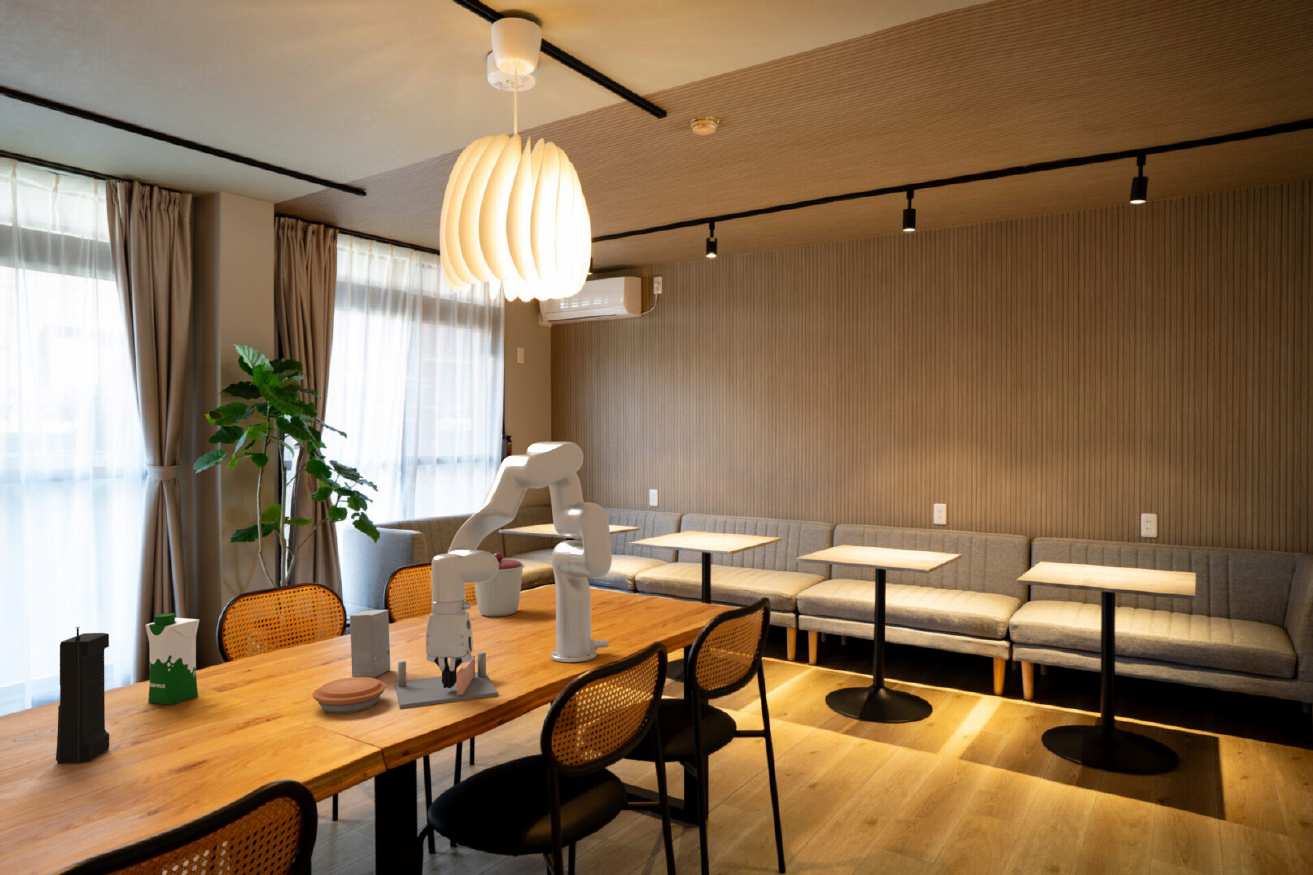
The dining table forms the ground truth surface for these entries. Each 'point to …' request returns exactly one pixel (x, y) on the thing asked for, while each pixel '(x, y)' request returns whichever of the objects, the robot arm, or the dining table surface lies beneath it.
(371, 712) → the dining table surface
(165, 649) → the milk carton
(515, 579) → the canister
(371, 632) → the skincare box
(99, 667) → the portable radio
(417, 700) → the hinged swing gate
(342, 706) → the pie
